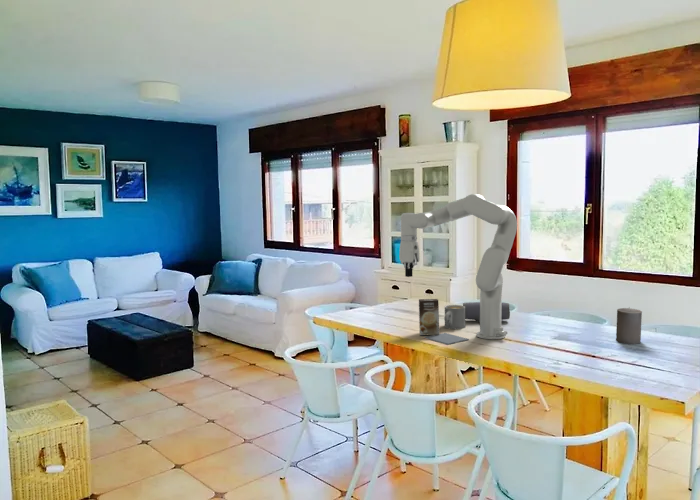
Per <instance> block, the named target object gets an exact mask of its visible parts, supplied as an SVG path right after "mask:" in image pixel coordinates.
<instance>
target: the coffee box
mask: <svg viewBox="0 0 700 500" xmlns="http://www.w3.org/2000/svg"><path fill="white" fill-rule="evenodd" d="M439 310H440V308H439V299H438V298H422V299H421V298H418V319H419V320H418V321H419V335H420V336H432V335H439V334H440V312H439Z"/></svg>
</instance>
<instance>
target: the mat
mask: <svg viewBox="0 0 700 500" xmlns="http://www.w3.org/2000/svg"><path fill="white" fill-rule="evenodd" d="M424 339H427V340H430V341H433V342H436V343H440V344H444V345H447V346H449V345H453V344H456V343H462V342H466V341H469V340H470V338H466V337H464V336H459V335H456V334H451V333H446V332H442V333H439V335H426V336H424Z"/></svg>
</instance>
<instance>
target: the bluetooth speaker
mask: <svg viewBox="0 0 700 500" xmlns="http://www.w3.org/2000/svg"><path fill="white" fill-rule="evenodd" d="M462 306H465V320H467V321H468V320H470V321H475V322H476V323H480V301H477V302H474V301H473V302H472V301H471V302H464V303H463V302H462ZM510 316H511V311H510V304H509V303H508V302H502V303H501V321H504V320H510Z"/></svg>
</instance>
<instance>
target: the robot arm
mask: <svg viewBox="0 0 700 500" xmlns="http://www.w3.org/2000/svg"><path fill="white" fill-rule="evenodd" d="M469 216H473V217H475V218H478V219H480V220H483V221H485V222H486V223H489V224H491V225H495V226H496V225H497V229H496V231H495V234H494V237H493V240H492V243H491V245H490V247H488V248H487V249H486V250H485V252H484V253H483V255H482V258H481V260H480V263H479V267H478V269H477V273H476V277H475V285H476V286H477V288H478V289H479V291H480V293H479V302H480V322H479V331H477V332H476V334H475V335H476V338H477V337H478V338H480V339H485V340H500V339H503V338H505V337H506V336H507V335H508V331H507V330H504V327H503V326H502V320H501V303H503V301H502V300H503V299H502V296H503V295H502V294H503V282H504V281H503V279H504V278H503V274H502V270H503V268H504V266H505V265H506V264H507V262H508V260H509V257H510V253H511V249H512V248H513V244H514V240H515V237H516V234H517V231H518V220H517V217H516V215H515V213H514V211H513V210H511V208H509V207H508V206H506V205H504V204H496V203H494V202H491V201H489V200H487V199H485V198H484V195H481V194H478V193H471V194H468V195H466V196H465V197H463V198H460V199H457V200H454V201H453V200H452V201H450V202H447V203H446V204H445V205H444V206H442V207H440V208H436V209H433V210H430V211H427V212H426V211H425V212H418V213H415V212H404V213H401V216H400V243H399V261H400V264H402V265H403V267H404V270H405V271H404V272H405V273H404V277H406V278H410V277H411V278H412V277H413V269H414V267H415V266H417V265H418V263H419V262H420V247H419V241H418V235H417V234H418V229H422V230H425V229H429V228H433V227H435V226H439V225H443V224H445V223H449V222H453V221H456V220H460V219H462V218H465V217H469Z"/></svg>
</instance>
